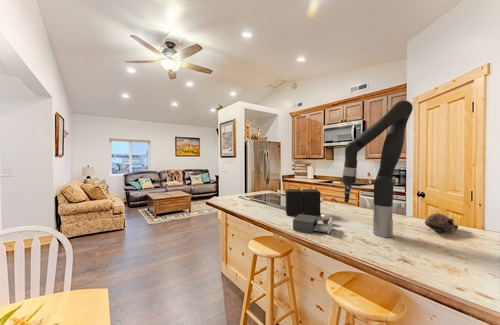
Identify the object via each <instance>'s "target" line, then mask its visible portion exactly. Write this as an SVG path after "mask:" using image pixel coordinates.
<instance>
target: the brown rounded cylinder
mask: <svg viewBox="0 0 500 325" xmlns="http://www.w3.org/2000/svg"><path fill="white" fill-rule="evenodd" d="M328 222H329V220H324V219H322V224H326V225H328Z"/></svg>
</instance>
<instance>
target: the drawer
mask: <svg viewBox="0 0 500 325" xmlns="http://www.w3.org/2000/svg"><path fill="white" fill-rule="evenodd" d="M332 229H333V216H331V218H330V220H329V222H328V224H327V225H326V224H323V223H319V222H318V223H317V224H316V226H315V227H314V232H320V233H321V232H322V233H327V234H328V235H330V233H331V232H332Z"/></svg>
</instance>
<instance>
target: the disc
mask: <svg viewBox="0 0 500 325" xmlns="http://www.w3.org/2000/svg"><path fill="white" fill-rule="evenodd" d="M331 215H332V214H330V213H320V219H321V220H323V219H324V220H330V218H331V217H332V216H331Z"/></svg>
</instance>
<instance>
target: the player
mask: <svg viewBox="0 0 500 325" xmlns="http://www.w3.org/2000/svg"><path fill="white" fill-rule="evenodd" d="M318 217H319V216H311V215H304V214H303V213H302V214H299V215H298V216H295V217H294V218H293V219H292V230H293V231H297V232H304V233H309V234H313V233H314V232H315V231H314V227H315V226H316V224H317V223H319V222H318Z"/></svg>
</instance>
